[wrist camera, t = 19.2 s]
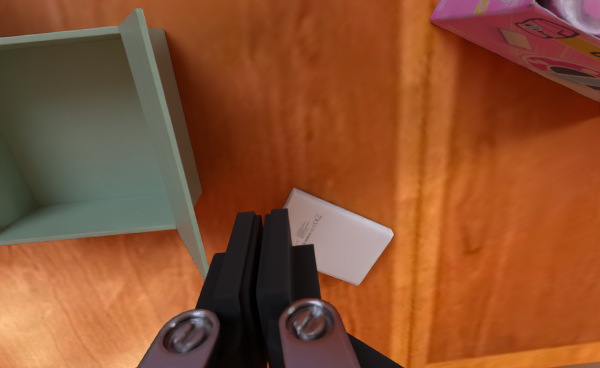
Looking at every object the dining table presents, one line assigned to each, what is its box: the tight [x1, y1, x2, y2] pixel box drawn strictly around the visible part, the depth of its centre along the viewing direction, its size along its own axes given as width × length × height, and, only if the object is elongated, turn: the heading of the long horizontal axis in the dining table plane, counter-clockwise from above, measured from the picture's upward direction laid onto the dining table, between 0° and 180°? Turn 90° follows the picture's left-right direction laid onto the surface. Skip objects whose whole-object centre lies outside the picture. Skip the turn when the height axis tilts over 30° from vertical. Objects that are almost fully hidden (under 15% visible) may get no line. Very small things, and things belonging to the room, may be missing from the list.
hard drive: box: [282, 188, 394, 286], centre depth 37 cm, size 2×8×12 cm
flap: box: [119, 8, 209, 282], centre depth 21 cm, size 16×9×1 cm
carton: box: [0, 26, 202, 246], centre depth 28 cm, size 16×18×8 cm
